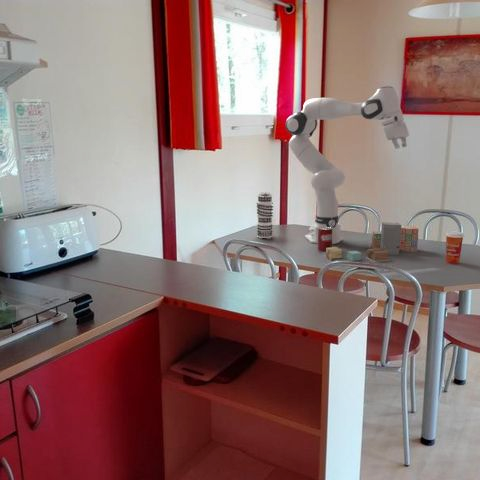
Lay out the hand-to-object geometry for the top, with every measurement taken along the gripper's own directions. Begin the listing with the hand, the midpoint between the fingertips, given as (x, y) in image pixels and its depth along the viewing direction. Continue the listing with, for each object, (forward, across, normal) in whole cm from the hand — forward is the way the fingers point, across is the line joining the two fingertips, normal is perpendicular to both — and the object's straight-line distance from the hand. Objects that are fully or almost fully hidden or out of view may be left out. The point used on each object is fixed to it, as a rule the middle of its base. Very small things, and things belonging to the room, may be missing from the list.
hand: (401, 147), depth 255 cm
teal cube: (+46, +30, -24) cm, 60 cm away
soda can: (+39, +21, -43) cm, 62 cm away
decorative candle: (+26, +12, -84) cm, 89 cm away
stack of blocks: (+49, 0, -17) cm, 52 cm away
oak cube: (+42, +31, -34) cm, 63 cm away
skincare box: (+49, +9, -16) cm, 52 cm away
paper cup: (+58, +6, +12) cm, 59 cm away
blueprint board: (+48, +23, -17) cm, 56 cm away
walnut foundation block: (+47, +23, -16) cm, 55 cm away
